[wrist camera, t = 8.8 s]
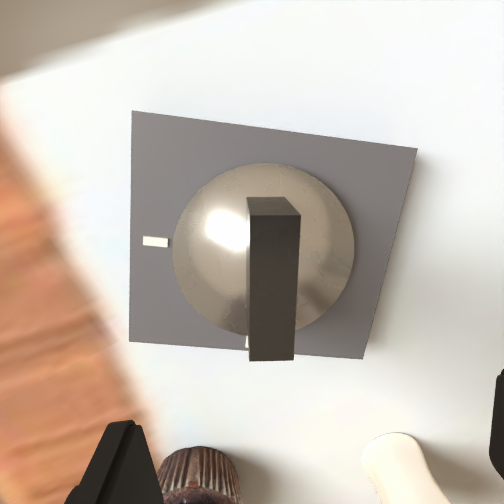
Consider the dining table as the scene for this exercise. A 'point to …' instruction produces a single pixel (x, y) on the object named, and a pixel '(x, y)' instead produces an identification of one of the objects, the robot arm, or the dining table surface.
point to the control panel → (238, 154)
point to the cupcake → (199, 478)
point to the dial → (263, 254)
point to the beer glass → (400, 471)
